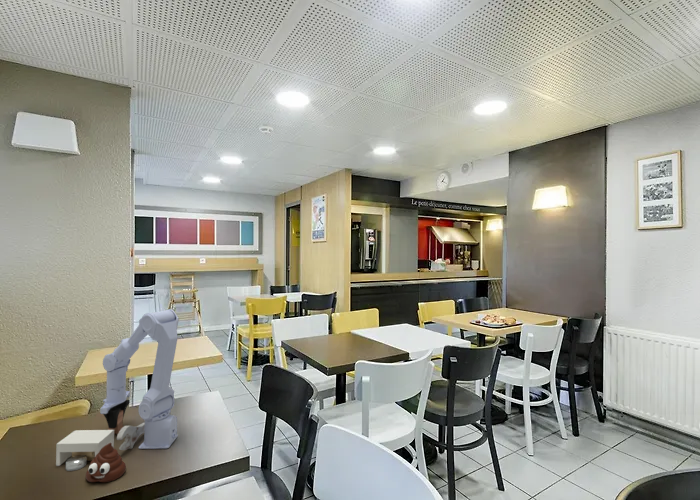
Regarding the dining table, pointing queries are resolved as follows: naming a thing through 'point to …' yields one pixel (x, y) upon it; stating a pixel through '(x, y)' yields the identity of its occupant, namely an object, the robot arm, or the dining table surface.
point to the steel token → (76, 462)
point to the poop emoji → (106, 465)
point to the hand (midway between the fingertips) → (115, 425)
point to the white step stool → (83, 443)
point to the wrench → (130, 435)
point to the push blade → (116, 430)
